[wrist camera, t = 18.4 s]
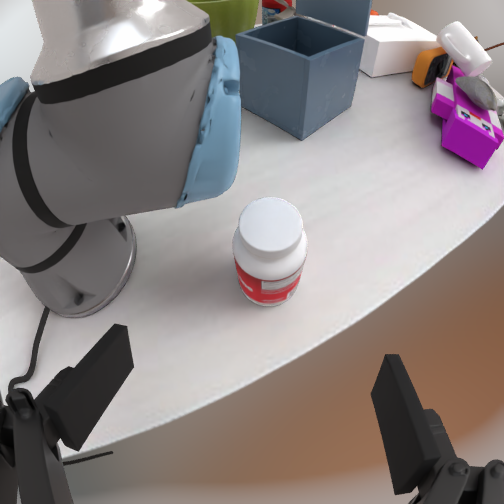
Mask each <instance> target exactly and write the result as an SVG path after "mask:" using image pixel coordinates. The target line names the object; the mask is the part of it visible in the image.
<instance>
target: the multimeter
mask: <svg viewBox="0 0 504 504" xmlns="http://www.w3.org/2000/svg"><path fill="white" fill-rule="evenodd" d="M453 62H454V61H453V60H452V58H451V57H450V56H449V55H448V54H447V52H446V51H445V50H444V49H443V48H442V47H438V48H435V49H430V50H425V51H422V52H420V53H419V55H418V56H417V59H416V62H415V65H414V69H413V72H412V80H413V82H414V83H415V84H417V85H419V86H420V87H422V88H424V87H426V86H428V85H430V84H431V83H433V82H435V81H436V78H437V77H438V78H440V79H441V78H443V77H446V76H448V74H449V72H450V69H451V66H452V65H453Z"/></svg>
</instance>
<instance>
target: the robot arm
mask: <svg viewBox="0 0 504 504" xmlns="http://www.w3.org/2000/svg"><path fill="white" fill-rule="evenodd" d="M32 2H33V6H34V9H35V13H36V17H37V20H38V23H39V27H40V30H41V34H42V37H43V40H44V43H43V47H42V51H41V53H40V55H39V58H38V60H37V62H36V64H35V67H34V69H33V72H32V74H31V77H30V78H31V82H32V85H33V87H34V90H35V92H30V90H29V84H28V83H27V82H25V81H24V80H23V79H22V78H21V77H15V78H14V77H13V78H10V79H9V80H7V81H5V82H4V83H2V84H1V85H0V256H1V257H2V258H3V259H5V260H6V261H7V262H9V263H10V264H11V265H13V266H14V267H15V268H17V269H18V270H19V271H20V272H21V274H22V275H23V277H24V279H25V280H26V282H27V283H28V285H29V286H30V288H31V289H32V291H33V293H34V294H35V296H36V297H37V298H38V300H39V301H40V302H41V303H42V304H44V305H45V308H44V311H43V314H42V317H41V320H40V323H39V327H38V330H37V333H36V336H35V340H34V344H33V350H32V357H31V363H30V367H29V369H28V372H27V373H26V375H24V376H22V377H16V378H13V379H12V380H11V381H10V383H9V386H8V395H7V396H6V399H5V400H6V402H7V404H8V406H5V405H3V404H2V402H1V400H0V504H16V503H17V489H18V486H19V492H20V498H21V503H22V504H74V503H73V500H72V497H71V493H70V490H69V486H68V483H67V479H66V475H65V471H64V467H63V466H65V465H71V464H76V463H80V462H84V461H88V460H91V459H95V458H98V457H102V456H106V455H110V454H113V451H109V452H105V453H100V454H96V455H92V456H89V457H85V458H81V459H76V460H71V461H66V462H62V458H61V454H60V449H59V446H58V443H57V442H58V441H59V439H60V438H61V440H62V441H63V443H64V445H65V446H67V447H69V448H71V449H73V450H76V451H78V452H79V450H80V449H81V447H82V445H83V444H84V442H85V441H86V439H87V438H88V436H89V434H90V433H91V431H92V430H93V428H94V427H95V425H96V424H97V422H98V420H99V419H100V417H101V416H102V414H103V413H104V411H105V410H106V408H107V407H108V405H109V404H110V402H111V401H112V399H113V398H114V396H115V395H116V393H117V392H118V390H119V389H120V387H121V386H122V384H123V383H124V381H125V380H126V378H127V377H128V375H129V374H130V372H131V371H132V369H133V368H134V364H133V359H132V353H131V348H130V342H129V336H128V329H127V326H124V325H119V324H114V325H113V326H112V327H111V328H110V329H109V330H108V331H107V332H106V333H105V335H104V336H103V337H102V338H101V339H100V340H99V341H98V342H97V343H96V344H95V345H94V347H93V348H92V349H91V350H90V351H89V352H88V353H87V354H86V355H85V356H84V358H83V359H82V360H81V361H80V362H79V363H78V364H77V365H76V366H75V368H72V367H69V366H68V367H67V368H65V369H63V370H61V371H60V372H59V373H58V374H57V375H56V376H55V377H54V379H52V381H51V382H50V383H49V384H48V385H47V386H46V387H45V388H44V389H43V391H42V392H41V393H40V394H39V395H38V396H37V397H36V398H35V400H34V399H33V397H32V395H31V393H30V392H29V391H28V390H27V389H24V388H17V389H13V387H14V385H15V384H17V383H22V382H26V381H28V380H29V379H30V378H31V376H32V374H33V372H34V370H35V366H36V361H37V354H38V348H39V343H40V340H41V336H42V333H43V330H44V327H45V324H46V320H47V317H48V315H49V312H50V310H52V311H53V312H55V313H57V314H59V315H61V316H65V317H70V318H78V317H84V316H88V315H91V314H93V313H95V312H97V311H99V310H101V309H102V308H104V307H105V306H106V305H108V304H109V303H110V302H111V301H112V300H113V299H114V298H115V297H116V296H117V295H118V294H119V292H120V291H121V290H122V288H123V287H124V285H125V284H126V282H127V280H128V278H129V276H130V274H131V271H132V269H133V266H134V262H135V257H136V237H135V233H134V230H133V227H132V225H131V224H130V222H129V220H128V219H127V217H126V216H125V215H131V214H137V213H142V212H148V211H154V210H160V209H166V208H172V207H174V208H179V207H182V206H184V204H187V203H191V202H196V201H200V200H205V199H210V198H214V197H218V196H219V195H221V194H223V192H225V191H226V190H228V189H229V188H230V187H231V185H232V183H233V182H234V179H235V176H236V173H237V168H238V161H239V152H240V135H241V98H240V95H239V90H240V83H239V81H240V65H239V57H238V51H237V47H236V45H235V42H234V41H233V40H232V39H230V38H224V37H223V36H216V37H213V38H212V35H211V27H210V18H209V15H208V14H207V13H206V12H204V11H203V10H201V9H199V8H198V7H196V6H195V5H193V4H191V3H190V2H188V1H186V0H32ZM371 397H372V401H373V404H374V408H375V412H376V415H377V419H378V423H379V427H380V431H381V435H382V439H383V443H384V448H385V452H386V456H387V461H388V465H389V470H390V474H391V479H392V484H393V488H394V494H395V495H399V494H405V493H410V492H412V491H413V490H414V488H416V486H417V487H418V490H419V493H418V494H417V495H416V496H415V497H414V498H413V499H412V500H411V501H410V502H409V504H504V463H503V461H500V460H492V461H490V462H489V463H488V464H487V465H486V466H485V467H473V466H469V465H468V464H467V462H466V461H465V460H463V459H461V458H457V456H456V454H455V452H454V449H453V447H452V444H451V442H450V440H449V437H448V435H447V433H446V430H445V428H444V426H443V423H442V421H441V419H440V416H439V415H438V414H437V413H436V412H435V411H434V410H433V409H425V410H423V408H422V405H421V403H420V401H419V398H418V396H417V393H416V391H415V389H414V387H413V384H412V382H411V380H410V378H409V375H408V373H407V371H406V369H405V367H404V365H403V362H402V361H401V358H400V356H399V354H397V355H396V354H385V357H384V360H383V363H382V365H381V368H380V371H379V374H378V376H377V379H376V382H375V384H374V387H373V389H372V392H371Z"/></svg>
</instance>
